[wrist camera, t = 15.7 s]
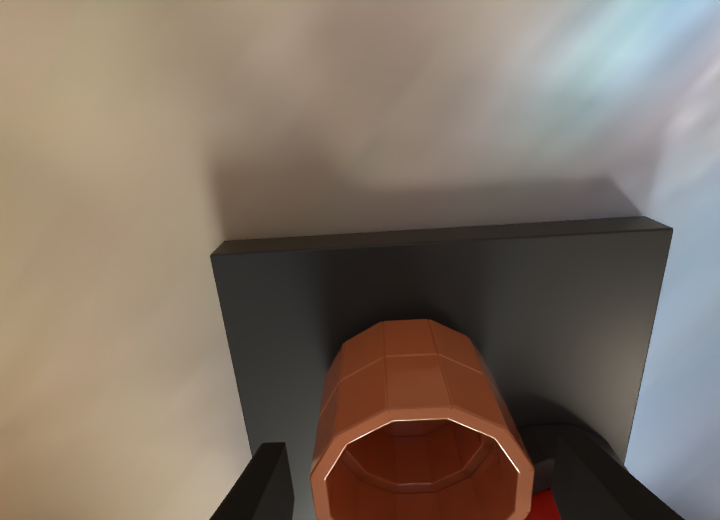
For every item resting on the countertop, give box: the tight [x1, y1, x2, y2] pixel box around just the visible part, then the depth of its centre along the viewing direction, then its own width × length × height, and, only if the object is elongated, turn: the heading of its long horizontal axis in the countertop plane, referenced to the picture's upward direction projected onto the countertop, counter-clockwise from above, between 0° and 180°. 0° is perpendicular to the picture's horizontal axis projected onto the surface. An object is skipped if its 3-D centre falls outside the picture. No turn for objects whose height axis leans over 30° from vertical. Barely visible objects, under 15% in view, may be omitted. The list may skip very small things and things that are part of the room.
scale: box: [210, 216, 673, 520], centre depth 15 cm, size 14×13×3 cm
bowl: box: [310, 319, 535, 520], centre depth 12 cm, size 5×5×4 cm
